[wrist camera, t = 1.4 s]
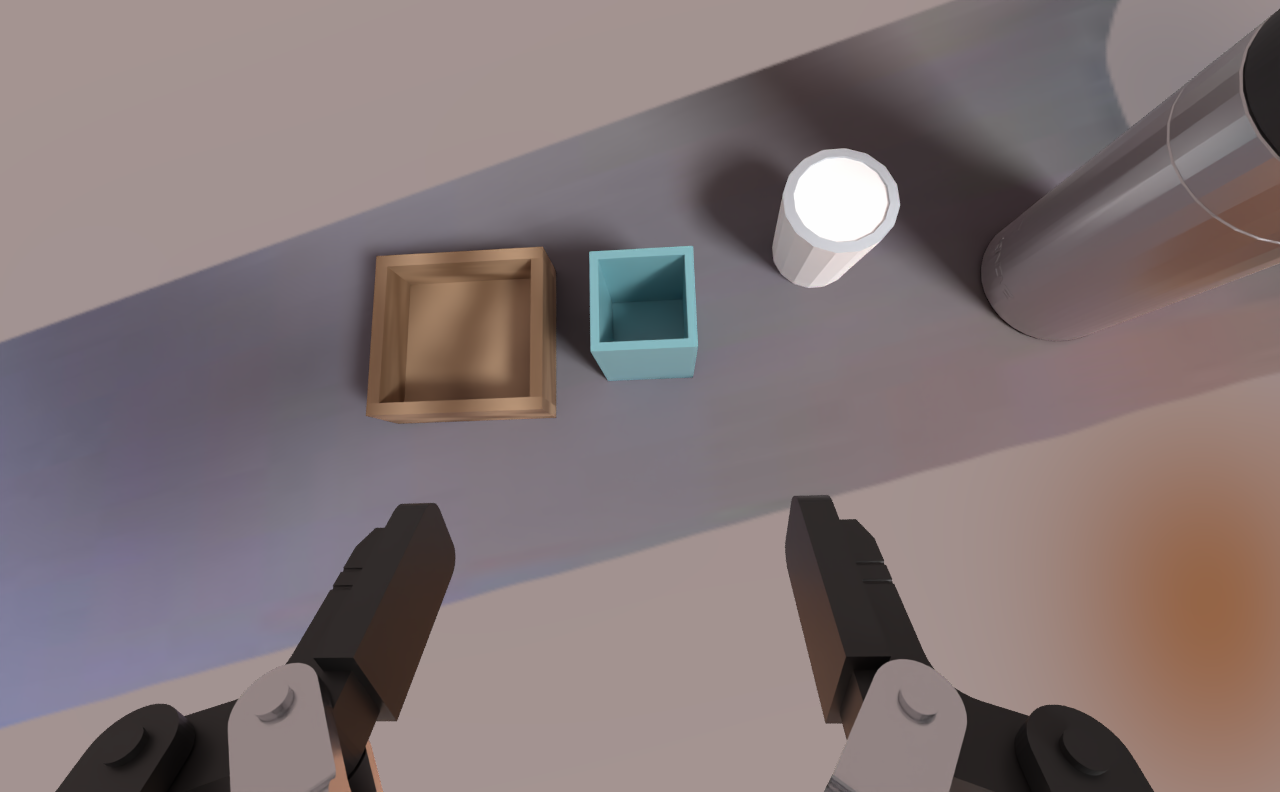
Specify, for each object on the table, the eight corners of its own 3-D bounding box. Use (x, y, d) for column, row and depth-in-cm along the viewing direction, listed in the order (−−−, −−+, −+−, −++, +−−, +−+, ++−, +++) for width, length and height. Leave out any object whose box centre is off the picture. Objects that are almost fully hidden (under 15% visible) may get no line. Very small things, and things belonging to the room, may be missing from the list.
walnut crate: (556, 271, 39) (542, 246, 35) (556, 417, 37) (542, 408, 33) (406, 279, 40) (376, 256, 36) (398, 423, 38) (365, 415, 34)
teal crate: (688, 296, 38) (693, 245, 30) (692, 377, 37) (697, 346, 29) (606, 300, 38) (589, 251, 30) (608, 380, 37) (590, 351, 29)
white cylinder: (856, 301, 37) (897, 258, 30) (758, 290, 38) (777, 245, 31) (862, 212, 38) (904, 151, 31) (768, 203, 39) (788, 141, 32)
